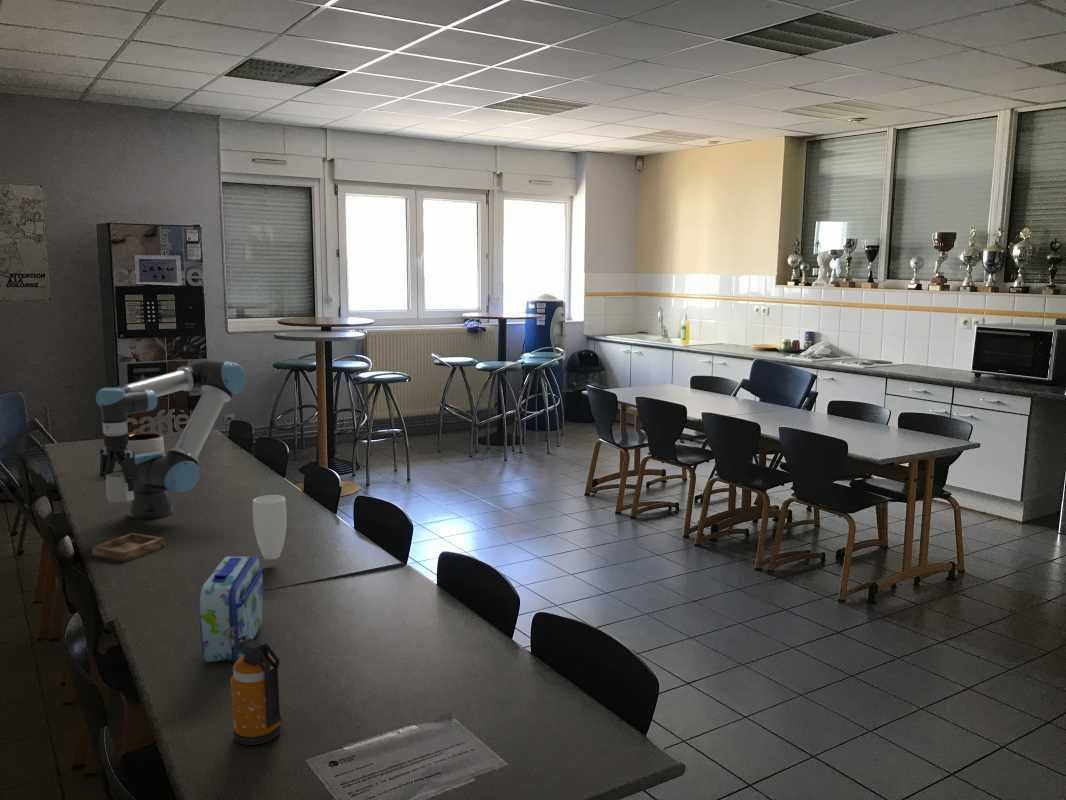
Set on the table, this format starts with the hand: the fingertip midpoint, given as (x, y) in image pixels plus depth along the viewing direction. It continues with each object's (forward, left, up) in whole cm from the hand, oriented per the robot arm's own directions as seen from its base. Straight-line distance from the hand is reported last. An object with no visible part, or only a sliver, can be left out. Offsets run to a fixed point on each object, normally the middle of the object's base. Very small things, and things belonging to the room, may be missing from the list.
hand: (120, 498), depth 291 cm
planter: (-72, -69, -14) cm, 101 cm away
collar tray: (+11, +15, -13) cm, 23 cm away
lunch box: (+51, +96, -14) cm, 109 cm away
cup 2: (+3, +67, -14) cm, 68 cm away
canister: (+81, +130, -14) cm, 154 cm away
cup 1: (0, 0, -1) cm, 1 cm away
